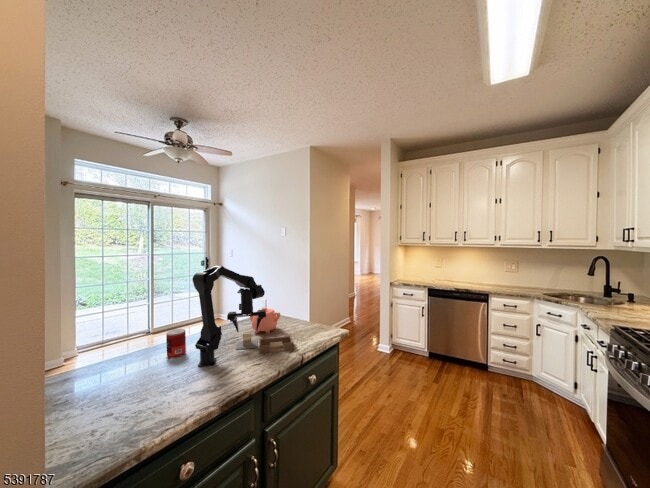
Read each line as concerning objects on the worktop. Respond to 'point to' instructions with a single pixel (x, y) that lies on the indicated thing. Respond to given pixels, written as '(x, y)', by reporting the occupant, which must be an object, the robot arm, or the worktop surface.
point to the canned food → (176, 343)
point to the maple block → (246, 338)
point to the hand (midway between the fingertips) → (247, 331)
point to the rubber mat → (253, 345)
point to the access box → (276, 344)
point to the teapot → (266, 321)
